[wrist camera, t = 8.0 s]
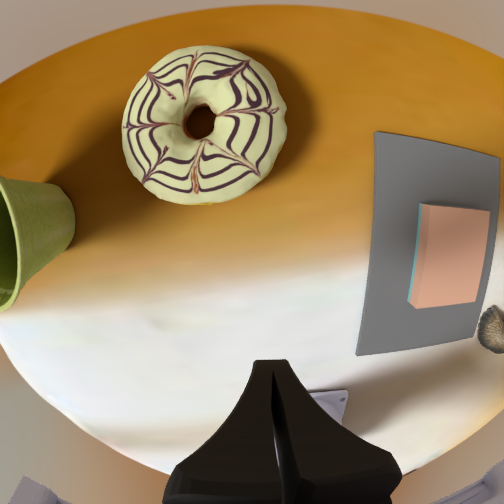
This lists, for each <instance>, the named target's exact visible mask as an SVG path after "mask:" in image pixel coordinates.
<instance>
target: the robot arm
mask: <svg viewBox="0 0 504 504" xmlns="http://www.w3.org/2000/svg"><path fill="white" fill-rule="evenodd" d="M348 396H349V394H348V391H347V390H339V391H329V392H317V393H308V391H307V390H306V389H305V387H304V386H303V385H302V383H301V382H300V381H299V379H298V378H297V376H296V375H295V373H294V371H293V370H292V368H291V366H290V364H289V362H288V361H287V360H286V359H281V360H256V361H254V362H253V369H252V372H251V375H250V378H249V381H248V383H247V385H246V387H245V390H244V392H243V394H242V395H241V397H240V399H239V401H238V402H237V404H236V406H235V408H234V409H233V411H232V412H231V413H230V415H229V416H228V418H227V419H226V420H225V422H224V423H223V424H222V425H221V426H220V428H219V429H218V430H217V431H216V432H215V433H214V434H213V435H212V436H211V438H209V439H208V440H207V441H206V442H205V443H204V444H203V445H202V446H201V447H200V448H199V449H198V450H196V451H195V452H194V453H193V454H191V455H190V456H189V457H187V458H186V459H184V460H183V461H182V462H180V463H179V464H177V465H176V467H175V468H174V470H173V472H172V474H171V476H170V478H169V480H168V482H167V485H166V488H165V491H164V496H163V500H162V503H163V504H392V501H391V498H390V495H391V494H392V492H393V491H394V490H395V488H396V487H397V486H398V485H399V483H400V481H401V479H402V473H401V470H400V468H399V466H398V464H397V462H396V460H395V459H394V457H393V456H392V454H391V453H390V452H388V451H386V450H384V449H381V448H379V447H377V446H375V445H372V444H370V443H368V442H367V441H365V440H363V439H361V438H359V437H358V436H356V435H355V434H353V433H352V432H350V431H349V430H347V429H346V428H345V427H343V425H342V418H343V414H344V411H345V407H346V403H347V399H348ZM342 398H343V399H342ZM8 504H72V503H70V502H67V501H65V500H63V499H60V498H58V496H57V495H56V494H55V493H54V492H53V491H52V490H51V489H50V488H48V487H47V486H45V485H43V484H41V483H39V482H37V481H35V480H33V479H31V478H30V477H28V476H25V475H24V476H23V477H22V479H21V481H20V483H19V485H18V486H17V488H16V490H15V492H14V493H13V495H12V497H11V499H10V501H9V503H8ZM431 504H504V460H502V461H501V462H499V463H497V464H496V465H495V466H493V467H492V468H491V469H490V470H489V471H488V472H487V473H486V474H485V475H484V476H483V478H482V479H480V480H478V481H476V482H475V483H473V484H471V485H469V486H467V487H465V488H463V489H461V490H459V491H457V492H455V493H453V494H451V495H449V496H447V497H445V498H442V499H440V500H438V501H435V502H433V503H431Z"/></svg>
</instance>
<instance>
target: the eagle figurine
mask: <svg viewBox="0 0 504 504" xmlns="http://www.w3.org/2000/svg"><path fill="white" fill-rule="evenodd" d="M478 327H479V329H480V330H478V334H479V335H478V339H479V341H480V343H481V344H482V346H484V347H486V348H487V349H490V350H491V351H492V352H494V353H497V354H498V353H500V354H501V353H504V322H503V321H502V320H501V318H500V316H499V314H498V313H497V311H496V309H495V308H494V307H492V308H491V309H488V310H487V312H484V313H483V315H482V316H481V317H480V323H479V325H478Z"/></svg>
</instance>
